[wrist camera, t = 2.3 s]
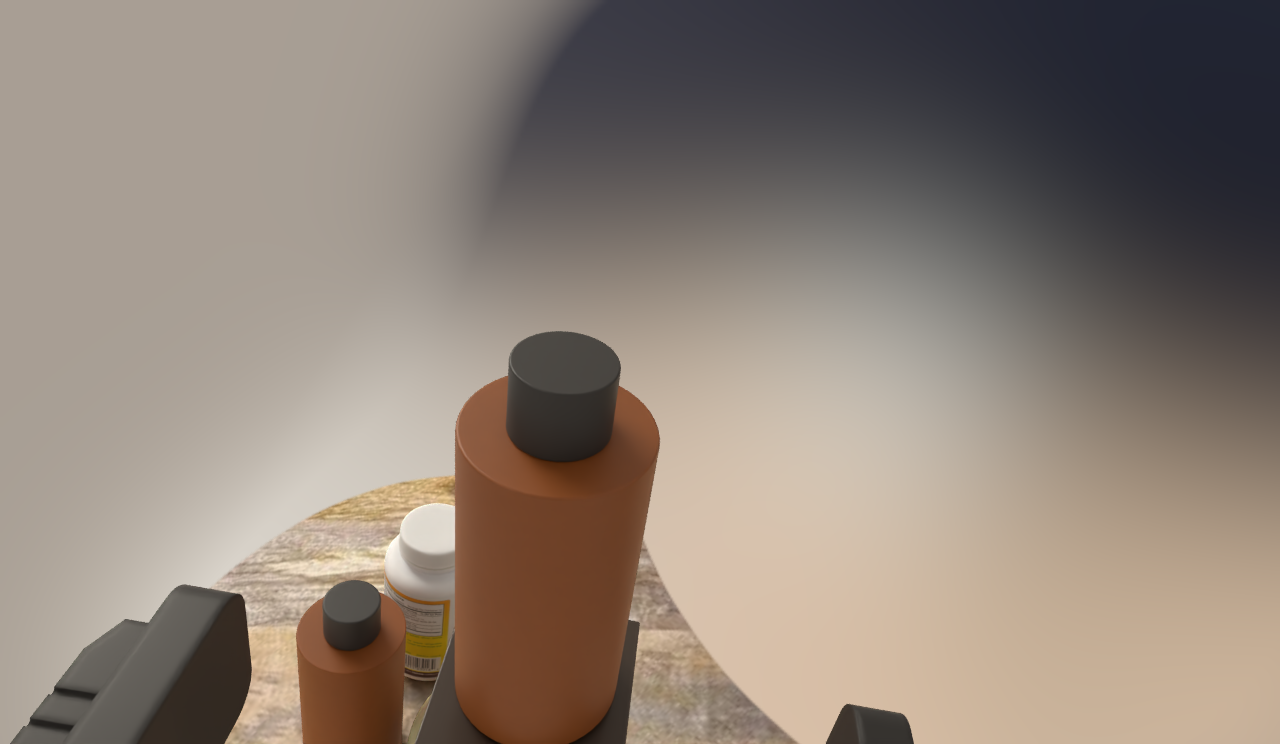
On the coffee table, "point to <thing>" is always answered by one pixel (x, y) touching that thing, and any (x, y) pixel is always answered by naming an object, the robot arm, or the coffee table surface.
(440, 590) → the supplement bottle
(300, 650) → the amber bottle
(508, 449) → the amber bottle
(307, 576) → the coffee table surface
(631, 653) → the pedestal
